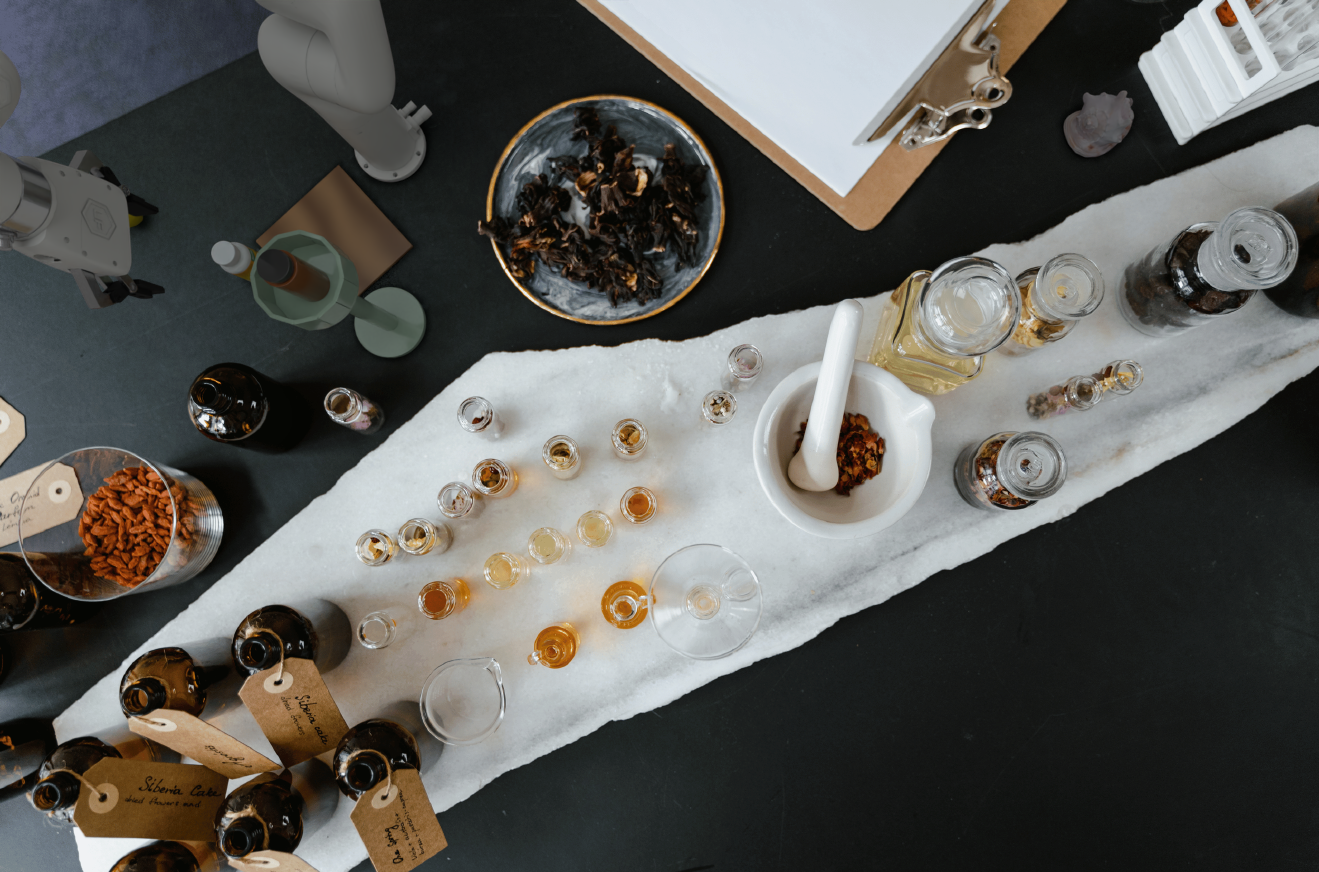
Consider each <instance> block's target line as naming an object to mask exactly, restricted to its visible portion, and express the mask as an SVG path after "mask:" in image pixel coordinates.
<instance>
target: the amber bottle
mask: <svg viewBox="0 0 1319 872" xmlns="http://www.w3.org/2000/svg"><path fill="white" fill-rule="evenodd" d="M256 267H257V272H258V274H259V275H260V277H261V278H262V279H264V281H265V282H266V283H268V284H269V285H271V286H273V287H276V288H278V289H280V290H282V291H285V292H287V293H289V294H292V295H294V296H296V297H299V298H301V299H303V300H305V301H308V302H317V301H320V300H322V299H323V298H324V297H325V296H326V295H327V294H328V292H329V289H330V280H329V277H328V275H327V274H326V273H325V272H324V271H323V270H321V269H319V268H317V267H315V266H313V265H312V264H310V263H308V262H306V261H304V260H302V259H300V258H299V257H297V256H295V255H293V254H291V253H289V252H288V251H285V250H278V249H269V250H266V251H264V252H263V253H262V254H261V255H260V256H259V258H258V260H257V265H256Z"/></svg>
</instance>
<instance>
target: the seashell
mask: <svg viewBox="0 0 1319 872" xmlns="http://www.w3.org/2000/svg"><path fill="white" fill-rule="evenodd" d="M1127 95H1128V91H1127V90H1121V91H1120V92H1118V94H1117V95H1114V94H1108V93H1106V92H1105V91H1104V92H1101V93H1100V94H1097V95H1094V94H1090V93H1089V92H1085V93H1084V94H1083V95H1082V101H1083V106H1082V107H1081V109H1080V110H1076V111H1074V112H1072V113H1071V114H1070V115H1068V116H1067V117H1066V119H1065V120H1064V122H1063V133H1064V136H1065V140H1066V142H1067V144H1068V145H1069V148H1071V149H1072V151H1073V152H1074V153H1075V154H1077V155H1079V156H1081V157H1084V158H1097V157H1100V156H1103V155H1104V154H1106V153H1108V152H1109V151H1111V150H1112V149H1113V148H1114V147H1115V146H1116V145H1118V144H1120V143H1122V141H1123V140H1124V139H1125V137H1126V136H1127V135H1128V133H1130V130H1131V127H1132V124H1133V120H1134V118H1135V114H1134V111H1133V109H1132V106H1133V103H1134V100H1133V98H1132V97H1127Z"/></svg>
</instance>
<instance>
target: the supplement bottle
mask: <svg viewBox="0 0 1319 872" xmlns="http://www.w3.org/2000/svg"><path fill="white" fill-rule="evenodd" d="M210 253H211V259H212V260H213V261H214V263H216V264H217V265H219V266H220V268H221V269H222V270H224V272H227V273H229V274H230V275H234V276H236V277H239V278H241V279H243V280H245V281H248V282H250V283H251V280H250V276H251V275H250V273H251V270H252V267H253V264H254V261H255V258H256V255H257V253H259V252H258V251H257V250H255V249H253V248H251V247H249V246H247V245H245V244H243V243H241V242H236V241H231V242H230V241H229V240H228V241H227V240H220V241H218V242H216V243H215V244H214V245H213V246H212V248H211V252H210Z"/></svg>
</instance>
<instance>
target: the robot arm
mask: <svg viewBox="0 0 1319 872" xmlns="http://www.w3.org/2000/svg"><path fill="white" fill-rule="evenodd" d="M254 2H256V3H257V4H258V5H259V6H261V7H263V8H264V9H265V10H268V11H270V12H272V14H270V15H269V16H267V17H266V18H265V19H264V20H263V21H262V23H261V25H260V27H259V29H258V33H257V49H258V53H259V56H260V59H261V62H262V63H263V65H264V67H265V69H266V71H267V72H268V73H269V74H270V76H271V77H272V78H273V79H274V80H275V81H276V82H277V83H278V84H280V86H281V87H283V88H284V89H285V90H287V91H288V92H289V93H291V94H292V95H293V96H295V97H296V98H298V99H299V100H300V101H302V102H303V103H305V104H306V105H307V106H308V107H310V109H312V110H314V112H315V113H317V114H318V115H319V116H320V117H321V118H322V119H323V120H324V121H325V122H326V123H327V124H328V125H329V126H330V127H331V128H332V129H333V130H334V131H335V132H336V133H337V134H339V135H340V136H341V137H342V139H343V140H344V141H346V143H348V145H350V146H351V147H352V148H353V149H354V155H355V159H356V161H357V164H359V166H360V168H361V169H362V170H363V171H364V173H366V174H367V175H369V176H370V177H371V178H373V179H375V180H377V181H380V182H383V183H396V182H400V181H403V180H406V179H407V178H409V177H411V176H412V175H413V174H415V173H416V172H417V171H418V170H419V168H420V167H421V166H422V164H423V162H424V160H425V157H426V153H427V141H426V135H425V134H424V131H423V129H422V128H421V125H422V124H423V123H424V122H426V121H427V120H428V119H429V118H430V117H432V116H433V113H432V111H431V110H430V109H429V107H428V106H427V105H426V104H424V105H422V106H421V107H419V109H418V110H416V109H417V108H418V106H417V104H415V103H414V102H413V101H412V100H410V101H409V102H408V103H406V104H405V106H404V107H403V108H399V109H397V108H396V107H395V106H394V105H393V104H391V103H392V101H393V99H394V95H395V90H396V71H395V70H396V69H395V64H394V63H395V62H394V58H393V53H392V49H391V43H390V40H389V35H388V32H387V25H386V23H385V18H384V13H383V9H382V4H381V0H254ZM21 94H22V81H21V76H20V74H19V70H18V69H17V67H16V65H15V64H14V61H13V60H12V59H11V58H10V57H9V56H8V55H7V54H6V53H5V52H4V51H3V50H1V49H0V130H1V129H2V127H3V126H4V125H5V124H6V123H7V122H8V120H9V119H10V118H11V116H12V115H13V113H14V112H15V110H16V108H17V106H18V104H19V102H20V99H21V96H22V95H21ZM415 110H416V112H415V113H414V114H413V115H412V116H411V115H410V114H411V113H413V112H414V111H415ZM159 210H160V209H159V207H158V206H156V205H154V204H152V203H149V202H147V201H146V199H144V198H142V197H140V196H139V195H136V194H135V193H132V192H131V190H130V188H129V186H128V185H126V184H122V183H121V182H120V180H119V179H118V178H117V176H116V174H115V173H114V171H113V170H112V168H111V167H110V166H108V165H107V166H106V165H105V164H104V162H103V161H102V160H101V159H100V158H99V157H98V156H97V155H96V154H95V153H94V152H93V150H91V149H83V150H77V151H75V153H74V155H73V157H72V159H71V161H70V162H69V164H68V165H65V164H62V163H58V162H54V161H51V160H48V159H45V158H41V157H36V156H30V155H20V156H17V157H15V156H12V155H10V154H8V153H5V152H3V151H1V150H0V251H2V252H12V251H13V250H15V251H16V252H19V253H20V254H22V255H24V256H26V257H28V258H30V259H33V260H34V261H37V262H38V263H41V264H44V265H45V266H49V267H51V268H54V269H56V270H59V271H62V272H64V273H68V274H71V275H72V277H73V279H74V281H75V283H76V285H77V287H78V288H79V292H80V293H81V295H82V297H83V299H84V301H85V303H86V306H87V307H88V308H89V309H90V310H98V309H106V308H108V307H110V306H113V305H116V304H121V303H123V301H124V300H125V299H126V298H127V297H132V298H136V299H139V300H150V299H153V298H154V295H161V294H166V288H164V286H162V285H160V284H157V283H153V282H150V281H147V280H143V279H140V278H132V277H131V276H130V275H129V273H130V271H131V268H132V245H131V244H132V243H131V231H130V230H131V227H130V228H129V217H128V214H130V215H132V216H143V217H144V216H152V215H154V216H155V215H158V214H159V212H160V211H159ZM111 277H114V278H115V279H116V280H112V278H111ZM100 286H101V287H102V288H103V290H102V288H101V287H100Z"/></svg>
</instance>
